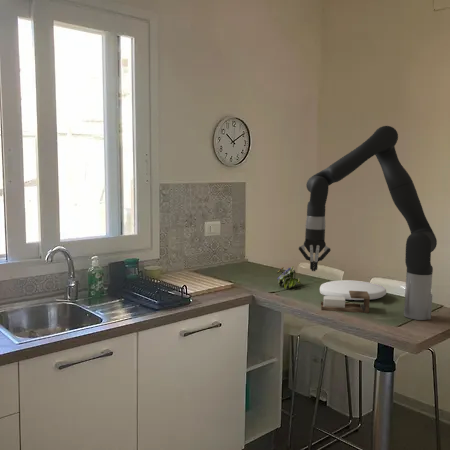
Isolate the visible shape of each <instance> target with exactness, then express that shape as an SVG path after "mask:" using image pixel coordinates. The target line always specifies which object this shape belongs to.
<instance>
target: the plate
mask: <svg viewBox="0 0 450 450" xmlns="http://www.w3.org/2000/svg"><path fill="white" fill-rule="evenodd" d="M349 291H366V292H368V294H369V296H370V300H376V299H380V298H383V297H384V296H386V294H387V288H386V287H385V286H383V285H380V284H377V283H373V282H368V281H361V280H352V279H351V280H350V279H343V280H332V281H327V282H323V283H322V284H320V286H319V293H320V295H322V296H336V297H344V298H345V300H350V301H353V300H354V301H364V299H360V298H351V296H350V293H349Z"/></svg>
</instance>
